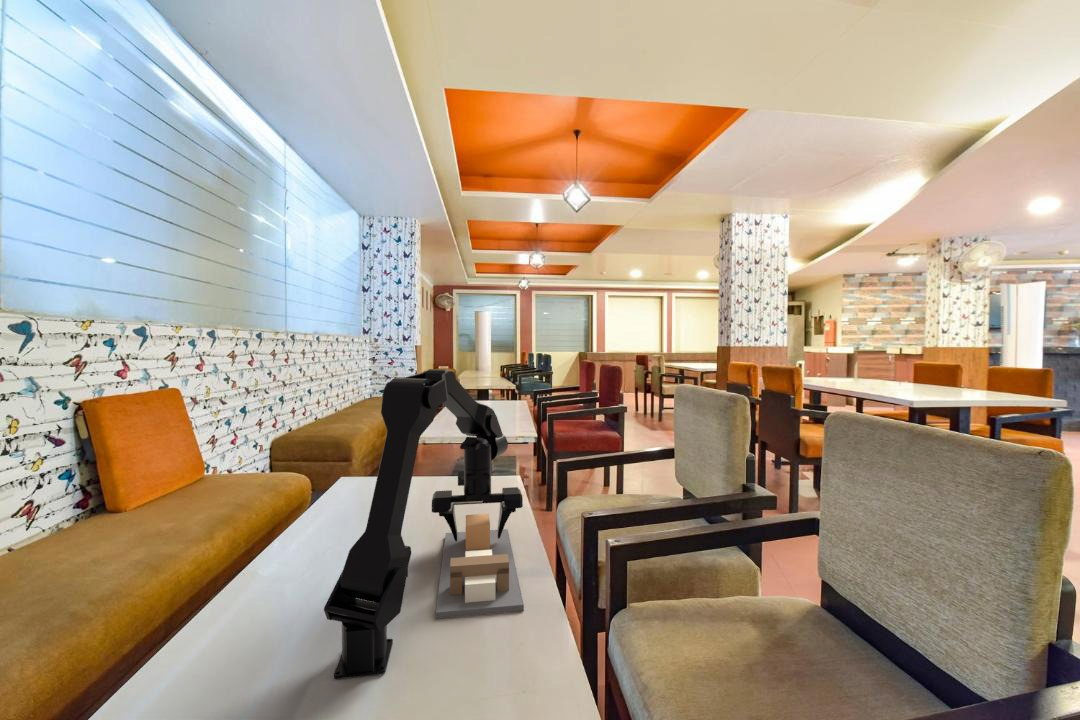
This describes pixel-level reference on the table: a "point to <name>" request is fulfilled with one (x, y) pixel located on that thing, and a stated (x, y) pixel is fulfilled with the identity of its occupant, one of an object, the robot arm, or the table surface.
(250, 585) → the table surface
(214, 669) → the table surface
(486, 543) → the peach cube cap
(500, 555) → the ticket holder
